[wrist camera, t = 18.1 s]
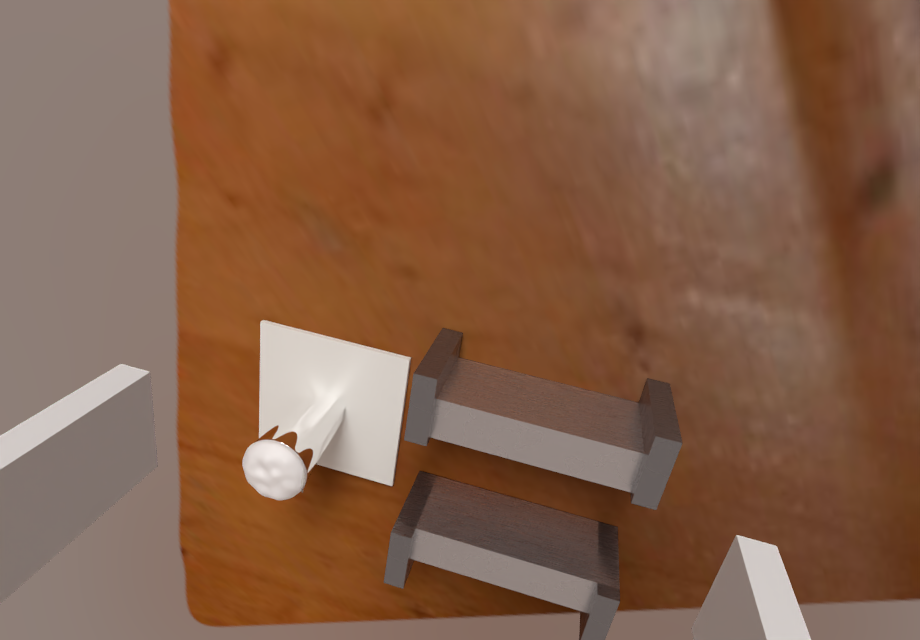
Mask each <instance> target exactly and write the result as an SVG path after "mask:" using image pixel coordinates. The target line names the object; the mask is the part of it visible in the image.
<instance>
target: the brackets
mask: <svg viewBox="0 0 920 640" xmlns="http://www.w3.org/2000/svg"><path fill="white" fill-rule="evenodd" d="M462 336H463V333H461V332H457V331H453V330H449V329H445V328H442V330H441V332H440V333H439V335H438V336H437V338H436V339H435V341H434V343H433V344H432V346H431V347H430V349H429V350H428V352H427V354H426V355H425V357H424V358H423V360H422V361H421V363H420V364H419V366H418V368H417V369H416V371H415V372H414V375H413V382H412V389H411V396H410V403H409V410H408V417H407V424H406V431H405V438H404V440H406V441H409V442H413V443H416V444H420V445H424V446H427V444H428V442H429V440H430V438H434V439H438V440H442V441H445V442H449V443H453V444H456V445H460V446H464V447H467V448H471V449H474V450H478V451H482V452H485V453H489V454H493V455H496V456H500V457H504V458H507V459H511V460H514V461H518V462H522V463H525V464H529V465H533V466H536V467H540V468H544V469H547V470H551V471H554V472H558V473H562V474H565V475H569V476H573V477H576V478H580V479H584V480H587V481H591V482H594V483H598V484H602V485H605V486H609V487H613V488H616V489H620V490H624V491H627V492H630V495H631V503H633V504H636V505H640V506H643V507H647V508H651V509H654V510H656V509H657V506H658V504H659V501H660V499H661V496H662V494H663V491H664V489H665V486H666V483H667V481H668V478H669V476H670V473H671V471H672V468H673V466H674V463H675V461H676V458H677V456H678V453H679V451H680V448H681V445H682V439H681V434H680V430H679V425H678V420H677V416H676V411H675V406H674V402H673V397H672V392H671V388H670V384H668V383H664V382H660V381H656V380H652V379H648V378H647V381H646V384H645V386H644V389H643V392H642V395H641V398H640V401H639V403H637V402H633V401H629V400H625V399H621V398H617V397H613V396H609V395H606V394H602V393H598V392H594V391H590V390H586V389H582V388H578V387H574V386H570V385H566V384H562V383H558V382H554V381H550V380H546V379H542V378H538V377H534V376H530V375H526V374H522V373H518V372H514V371H510V370H507V369H503V368H499V367H495V366H491V365H487V364H483V363H479V362H475V361H471V360H467V359H463V358H459V353H460V347H461V341H462ZM414 560H416V561H419V562H423V563H426V564H429V565H432V566H436V567H439V568H442V569H445V570H449V571H452V572H455V573H458V574H462V575H465V576H468V577H471V578H475V579H478V580H481V581H484V582H488V583H491V584H494V585H497V586H501V587H504V588H507V589H510V590H514V591H517V592H520V593H523V594H527V595H530V596H533V597H536V598H540V599H543V600H546V601H549V602H553V603H556V604H559V605H562V606H566V607H569V608H572V609H575V610H579V611H580V635H579V640H605V638H606V635H607V633H608V630H609V628H610V625H611V623H612V620H613V618H614V615H615V613H616V610H617V608H618V605H619V603H620V589H619V557H618V527H616V526H612V525H609V524H605V523H601V522H598V521H594V520H591V519H587V518H584V517H580V516H577V515H573V514H570V513H566V512H563V511H559V510H556V509H552V508H549V507H545V506H542V505H538V504H535V503H531V502H528V501H524V500H521V499H517V498H514V497H510V496H507V495H503V494H500V493H496V492H492V491H489V490H485V489H482V488H478V487H475V486H471V485H468V484H464V483H461V482H457V481H454V480H450V479H447V478H443V477H440V476H436V475H433V474H429V473H426V472H422V471H419V474H418V476H417V478H416V480H415V482H414V484H413V486H412V489H411V491H410V493H409V495H408V497H407V499H406V501H405V504H404V506H403V508H402V510H401V512H400V514H399V516H398V519H397V521H396V523H395V525H394V527H393V529H392V531H391V536H390V543H389V550H388V557H387V564H386V571H385V578H384V583H387V584H390V585H393V586H396V587H399V588H402V589H403V588H404V585H405V583H406V580H407V578H408V575H409V573H410V570H411V568H412V565H413V562H414Z"/></svg>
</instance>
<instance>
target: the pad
mask: <svg viewBox="0 0 920 640" xmlns="http://www.w3.org/2000/svg"><path fill="white" fill-rule="evenodd" d="M410 362H411V357H407V356H403V355H399V354H395V353H391V352H387V351H383V350H379V349H375V348H372V347H368V346H364V345H360V344H356V343H352V342H348V341H344V340H340V339H336V338H332V337H329V336H325V335H321V334H317V333H313V332H309V331H305V330H301V329H297V328H293V327H289V326H285V325H282V324H278V323H274V322H270V321H266V320H262V321H261V323H260V406H259V438H260V437H262V436H263V435H264V434H265V433H266V432H268V431H269V430H270V429H271V428H273V427H274V426H275V425H277V424H278V423H279V422H281V421H282V420H283V419H284V418H286V417H287V416H288V415H289V414H290V413H291V412H292V411H293V410H295V409H296V408H297V407H298V406H299V405H300V404H301V403H302V402H304V401H305V400H306V399H307V398H308V397H309V396H310V395H311V394H313V393H314V392H315V391H329V392H330V393H332V394H334V395H335V396H337V397H339V399H340V401H341V403H342V404H343V406H344V408H345V410H344V419H343V421H342V422H341V424H340V426H339V427H338V429H337V431H336V432H335V434H334V436H333V437H332V439H331V441H330V442H329V444H328V446H327V447H326V449H325V451H324V452H323V454H322V456H321V457H320V459H319V461H318V462H317V465H320V466H324V467H327V468H331V469H334V470H338V471H341V472H345V473H348V474H351V475H355V476H358V477H362V478H365V479H369V480H372V481H376V482H379V483H382V484H386V485H389V486H393V484H394V478H395V470H396V463H397V456H398V449H399V442H400V434H401V427H402V420H403V413H404V406H405V398H406V391H407V384H408V377H409V370H410Z"/></svg>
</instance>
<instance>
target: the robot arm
mask: <svg viewBox="0 0 920 640" xmlns="http://www.w3.org/2000/svg"><path fill="white" fill-rule="evenodd" d="M157 466H158V462H157V450H156V437H155V425H154V413H153V401H152V388H151V376H150V372H149V371H145V370H141V369H138V368H134V367H131V366H127V365H124V364H120V365H118V366H116V367H115V368H113V369H111V370H110V371H108V372H106V373H105V374H103V375H101V376H100V377H98V378H96V379H95V380H93V381H91V382H90V383H88V384H86V385H85V386H83V387H81V388H80V389H78V390H76V391H74V392H73V393H72V394H70V395H68V396H66V397H64V398H63V399H61V400H59V401H58V402H56V403H54V404H53V405H51V406H49V407H48V408H46V409H44V410H43V411H41V412H39V413H38V414H36V415H34V416H33V417H31V418H29V419H28V420H26V421H24V422H22V423H21V424H19V425H17V426H16V427H14V428H13V429H11V430H9V431H7V432H6V433H4V434H2V435H1V436H0V604H1V603H2V602H3V601H4V600H5V599H7V597H9V596H10V595H11V594H12V593H13V592H15V590H17V589H18V588H19V587H20V586H21V585H23V584H24V583H25V582H26V581H27V580H28V579H29V578H30V577H32V576H33V575H34V574H35V573H36V572H37V571H39V570H40V569H41V568H42V567H43V566H44V565H45V564H46V563H48V562H49V561H50V560H51V559H52V558H53V557H55V556H56V555H57V554H58V553H59V552H60V551H61V550H62V549H64V548H65V547H66V546H67V545H68V544H69V543H71V542H72V541H73V540H74V539H75V538H76V537H77V536H78V535H80V534H81V533H82V532H83V531H84V530H85V529H87V528H88V527H89V526H90V525H91V524H92V523H93V522H94V521H96V520H97V519H98V518H99V517H100V516H101V515H103V514H104V513H105V512H106V511H107V510H108V509H109V508H110V507H112V506H113V505H114V504H115V503H116V502H117V501H119V500H120V499H121V498H122V497H123V496H124V495H125V494H127V493H128V492H129V491H130V490H131V489H132V488H133V487H134V486H136V485H137V484H138V483H139V482H140V481H141V480H142V479H144V478H145V477H146V476H147V475H148V474H149V473H151V472H152V471H153V470H154V469H155V468H156V467H157ZM692 635H693V640H811V638H810V635H809V633H808V630H807V627H806V625H805V622H804V619H803V616H802V614H801V611H800V608H799V605H798V603H797V600H796V597H795V595H794V592H793V589H792V586H791V584H790V581H789V578H788V576H787V573H786V570H785V567H784V565H783V562H782V559H781V556H780V554H779V551H778V548H777V546H775V545H771V544H768V543H764V542H760V541H757V540H753V539H750V538H746V537H742V536H739V535H736V537H735V539H734V541H733V543H732V545H731V547H730V549H729V551H728V553H727V556H726V558H725V560H724V562H723V564H722V566H721V568H720V570H719V572H718V574H717V576H716V578H715V580H714V582H713V585H712V587H711V589H710V591H709V593H708V595H707V597H706V599H705V601H704V603H703V605H702V607H701V609H700V611H699V614H698V616H697V618H696V620H695V622H694V624H693V626H692Z"/></svg>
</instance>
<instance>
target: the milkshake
mask: <svg viewBox="0 0 920 640" xmlns="http://www.w3.org/2000/svg"><path fill="white" fill-rule="evenodd" d="M344 410H345V408H344V406H343V404H342V403H341V401H340V399H339V397H337V396H335V395H334V394H332V393H330V392H329V391H315V392H314V393H313V394H311V395H310V396H309V397H308V398H307V399H306V400H305V401H304V402H302V403H301V404H300V405H299V406H298V407H297V408H296V409H295V410H293V411H292V412H291V413H290V414H289V415H288V416H287V417H286V418H284V419H283V420H282V421H281V422H279V423H278V424H277V425H275V426H274V427H273V428H271V429H270V430H269V431H268V432H266V433H265V434H264V435H263V436H262V437H260V438H259V439H258V440H257V441H255V442H254V443H253V444H251V445H250V446H249V447H248V448H247V450H246V452H245V455H244V457H243V469H244V472H245V476H246V479H247V481H248V482H249V483H250V484H251V485H252V486H253V487H254V488H255V489H256V490H257V492H258V493H260V494H261V495H263V496H265V497H269V498H273V499H276V500H286V499H290V498H292V497H294V496H295V495H297V494H298V493H299V492H300V491H302V493H303V488H304V486H305V484H306V482H307V480H308V479H309V477H310V475H311V473H312V471H313V470H314V468H315V466H316V464H317V462H318V461H319V459H320V457H321V456H322V454H323V452H324V451H325V449H326V447H327V446H328V444H329V442H330V441H331V439H332V437H333V436H334V434H335V432H336V431H337V429H338V427H339V426H340V424H341V422H342V421H343V419H344Z"/></svg>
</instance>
